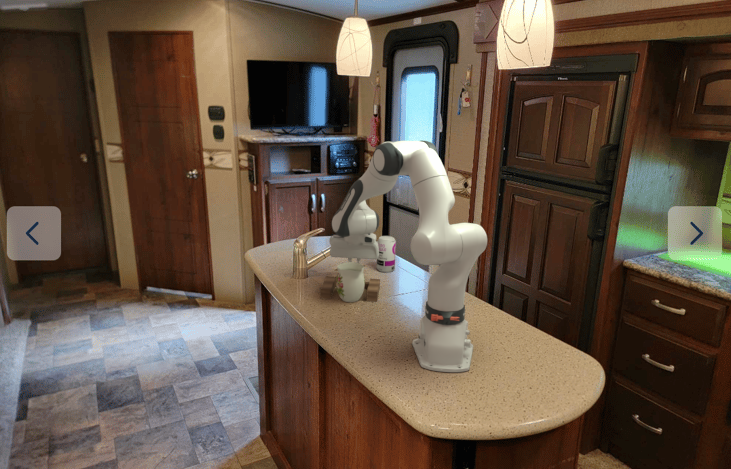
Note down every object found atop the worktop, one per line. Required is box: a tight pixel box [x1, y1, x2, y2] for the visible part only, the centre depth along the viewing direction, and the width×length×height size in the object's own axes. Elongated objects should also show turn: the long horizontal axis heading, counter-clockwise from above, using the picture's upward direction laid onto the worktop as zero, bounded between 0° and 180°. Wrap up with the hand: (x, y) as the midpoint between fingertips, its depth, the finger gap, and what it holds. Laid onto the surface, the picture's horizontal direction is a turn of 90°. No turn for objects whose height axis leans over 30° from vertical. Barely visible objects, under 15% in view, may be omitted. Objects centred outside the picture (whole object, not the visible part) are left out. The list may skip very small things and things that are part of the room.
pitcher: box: [335, 261, 366, 303], centre depth 186 cm, size 11×18×14 cm, turn 27°
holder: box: [319, 275, 381, 303], centre depth 191 cm, size 14×22×4 cm, turn 84°
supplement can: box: [376, 235, 397, 273], centre depth 218 cm, size 8×8×15 cm
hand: (354, 267), depth 201 cm, fingers closed
